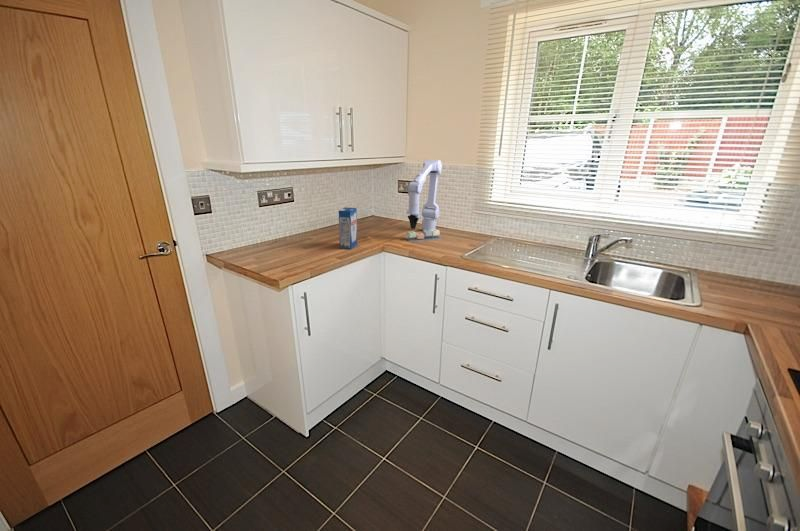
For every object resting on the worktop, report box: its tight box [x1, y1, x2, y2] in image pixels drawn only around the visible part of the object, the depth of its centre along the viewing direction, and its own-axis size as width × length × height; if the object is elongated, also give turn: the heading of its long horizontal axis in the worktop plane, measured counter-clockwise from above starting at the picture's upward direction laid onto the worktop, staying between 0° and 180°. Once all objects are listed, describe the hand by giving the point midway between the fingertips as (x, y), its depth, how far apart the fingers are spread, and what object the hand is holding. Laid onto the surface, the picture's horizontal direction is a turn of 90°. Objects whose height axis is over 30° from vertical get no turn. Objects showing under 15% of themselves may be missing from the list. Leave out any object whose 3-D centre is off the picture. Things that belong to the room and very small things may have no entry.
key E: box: [406, 230, 417, 237], centre depth 194 cm, size 4×4×2 cm
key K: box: [422, 230, 432, 236], centre depth 198 cm, size 4×4×2 cm
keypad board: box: [403, 235, 444, 243], centre depth 198 cm, size 12×20×1 cm, turn 113°
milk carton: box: [338, 207, 358, 250], centre depth 180 cm, size 10×6×20 cm, turn 168°
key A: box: [430, 228, 441, 236], centre depth 200 cm, size 4×4×2 cm
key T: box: [415, 232, 424, 239], centre depth 197 cm, size 4×4×2 cm
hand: (413, 228), depth 193 cm, fingers closed
